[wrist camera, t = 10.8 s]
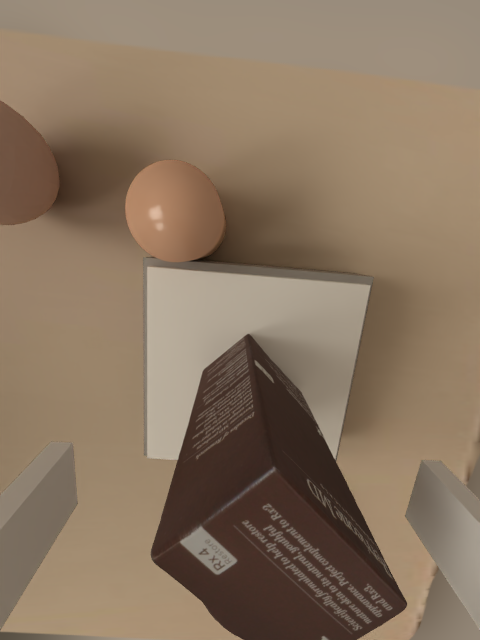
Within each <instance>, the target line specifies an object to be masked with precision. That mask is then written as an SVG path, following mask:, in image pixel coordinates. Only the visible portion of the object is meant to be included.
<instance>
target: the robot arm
mask: <svg viewBox="0 0 480 640" xmlns="http://www.w3.org/2000/svg"><path fill="white" fill-rule="evenodd" d="M77 504H78V502H77V489H76V477H75V464H74V451H73V443H71V442H50V443H49V444H48V445H47V446H46V447H45V448H44V449H43V450H42V452H41V453H40V454H39V455H38V456H37V457H36V458H35V459H34V460H33V461H32V462H31V463H30V464H29V465H28V466H27V467H26V468H25V469H24V470H23V472H22V473H21V474H20V475H19V476H18V477H17V478H16V479H15V480H14V481H13V482H12V483H11V484H10V485H9V486H8V487H7V488H6V489H5V490H4V492H3V493H2V494H1V495H0V630H1V628H2V627H3V625H4V623H5V622H6V620H7V618H8V617H9V615H10V613H11V612H12V610H13V609H14V607H15V605H16V604H17V602H18V600H19V599H20V597H21V595H22V594H23V592H24V591H25V589H26V587H27V586H28V584H29V582H30V581H31V579H32V577H33V576H34V574H35V573H36V571H37V569H38V568H39V566H40V564H41V563H42V561H43V559H44V558H45V556H46V555H47V553H48V551H49V550H50V548H51V546H52V545H53V543H54V541H55V540H56V538H57V537H58V535H59V533H60V532H61V530H62V528H63V527H64V525H65V523H66V522H67V520H68V518H69V517H70V515H71V514H72V512H73V510H74V509H75V507H76V505H77ZM405 517H406V518H407V520H408V521H409V523H410V525H411V526H412V528H413V529H414V531H415V532H416V534H417V535H418V537H419V538H420V540H421V541H422V543H423V544H424V546H425V547H426V549H427V550H428V552H429V554H430V555H431V557H432V558H433V560H434V561H435V563H436V564H437V566H438V567H439V569H440V570H441V572H442V573H443V575H444V576H445V578H446V579H447V581H448V583H449V584H450V586H451V587H452V589H453V590H454V592H455V593H456V595H457V596H458V598H459V599H460V601H461V602H462V604H463V605H464V607H465V608H466V610H467V612H468V613H469V615H470V616H471V618H472V619H473V620H474V622H475V624H476V625H477V627H478V628H479V630H480V500H479V499H478V498H477V497H476V496H475V495H474V494H473V493H472V492H471V491H470V490H469V489H468V488H467V487H466V486H465V485H464V484H463V483H462V482H461V481H460V480H459V479H458V478H457V477H456V476H455V475H454V474H453V473H452V472H451V471H450V470H449V469H448V468H447V467H446V466H445V465H444V464H443V463H442V462H441V461H433V460H421V464H420V467H419V471H418V474H417V477H416V481H415V484H414V488H413V491H412V494H411V498H410V501H409V505H408V508H407V511H406V515H405Z"/></svg>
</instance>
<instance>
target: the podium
mask: <svg viewBox="0 0 480 640" xmlns="http://www.w3.org/2000/svg"><path fill="white" fill-rule="evenodd" d="M373 278H374V277H371V276H366V275H360V274H355V273H345V272H333V271H321V270H310V269H298V268H286V267H275V266H263V265H251V264H239V263H228V262H216V261H204V260H191V261H186V262H167V261H164V260H160V259H158V258H156V257H143V301H144V456H147V458H153V459H169V460H178V457H179V453H180V450H181V447H182V444H183V440H184V437H185V433H186V430H187V427H188V423H189V419H190V416H191V412H192V408H193V405H194V401H195V398H196V394H197V391H198V387H199V383H200V379H201V376H202V372H203V370H204V369H205V368H206V367H207V366H209V365H210V364H211V363H212V362H213V361H215V360H216V359H217V358H218V357H220V356H221V355H222V354H223V353H225V352H226V351H227V350H228V349H229V348H231V347H232V346H233V345H234V344H235V343H237V342H238V341H239V340H240V339H242V338H243V337H244V336H245V335H247V334H250V335H251V336H252V337H253V339H254V340H255V341H256V342H257V343H258V345H259V346H260V347H261V348H262V349H263V351H264V352H265V353H266V354H267V355H268V356H269V358H270V359H271V360H272V361H273V362H274V363H275V364H276V365H277V366H278V367H279V368H280V370H281V371H282V372H283V373H284V374H285V375H286V376H287V377H288V378H289V379H290V381H291V382H292V383H293V384H294V385H295V386H296V387H297V388H298V389H299V390H300V391H301V392H302V395H303V396H304V398H305V400H306V402H307V404H308V406H309V408H310V410H311V412H312V414H313V416H314V418H315V420H316V422H317V424H318V426H319V428H320V430H321V432H322V434H323V437H324V439H325V441H326V443H327V445H328V447H329V449H330V451H331V453H332V455H333V457H334V459H335V461H336V460H337V455H338V450H339V445H340V440H341V435H342V431H343V426H344V421H345V416H346V411H347V406H348V401H349V396H350V391H351V386H352V382H353V377H354V372H355V367H356V362H357V357H358V352H359V347H360V342H361V337H362V332H363V328H364V323H365V318H366V313H367V308H368V303H369V298H370V293H371V288H372V283H373Z"/></svg>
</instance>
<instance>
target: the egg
mask: <svg viewBox="0 0 480 640" xmlns="http://www.w3.org/2000/svg"><path fill="white" fill-rule="evenodd" d="M59 185H60V181H59V172H58V167H57V164H56V160H55V158H54V156H53V154H52V152H51V150H50V148H49V146H48V144H47V143H46V142H45V140H44V139H43V137H42V136H41V135H40V134H39V132H38V131H37V130H36V129H35V128H34V127H33V126H32V125H31V124H30V123H29V122H28V121H27V120H26V119H25V118H24V117H23V116H21V115H20V114H19V113H17V112H16V111H15V110H13V109H12V108H11V107H9V106H8V105H7V104H5V103H4V102H2V101H0V225H15V224H20V223H25V222H28V221H31V220H34V219H36V218H38V217H39V216H41V215H42V214H44V213H45V212H46V211H47V210H48V209H50V207H51V206H52V204H53V202H54V201H55V199H56V198H57V194H58V190H59Z"/></svg>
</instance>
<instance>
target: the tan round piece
mask: <svg viewBox="0 0 480 640" xmlns="http://www.w3.org/2000/svg"><path fill="white" fill-rule="evenodd" d="M125 213H126V219H127V224H128V226H129V229H130V231H131V233H132V235H133V237H134V239H135V240H136V242H137V243H138V244H139V245H140V246H141V247H142V248H143V249H144V250H145V251H146V252H148V253H149V254H150V255H152V256H154V257H156V258H158V259H160V260H164V261H167V262H186V261H191V260H196V259H201V258H204V257H207V256H209V255H211V254H212V253H213V252H215V251H216V250H217V249H218V247H219V246H220V245H221V243H222V241H223V239H224V236H225V233H226V218H225V214H224V211H223V207H222V204H221V201H220V198H219V195H218V193H217V190H216V189H215V187H214V185H213V183H212V182H211V181H210V179H209V178H208V177H207V176H206V175H205V174H204V173H203V172H202V171H201V170H199V169H198V168H196V167H195V166H193V165H191V164H189V163H186V162H183V161H178V160H162V161H158V162H155V163H153V164H151V165H149V166H147V167H146V168H144V169H143V170H142V171H141V172H139V174H138V175H137V176H136V177H135V178H134V180H133V181H132V183H131V185H130V187H129V190H128V193H127V196H126V202H125Z"/></svg>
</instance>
